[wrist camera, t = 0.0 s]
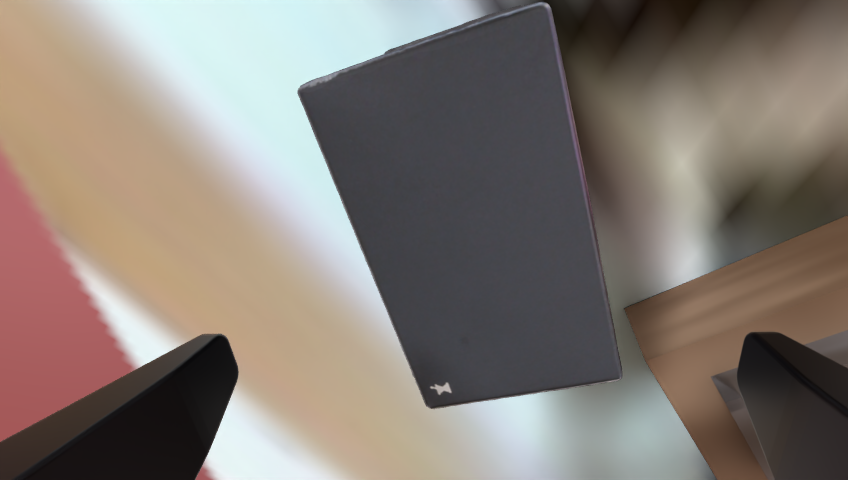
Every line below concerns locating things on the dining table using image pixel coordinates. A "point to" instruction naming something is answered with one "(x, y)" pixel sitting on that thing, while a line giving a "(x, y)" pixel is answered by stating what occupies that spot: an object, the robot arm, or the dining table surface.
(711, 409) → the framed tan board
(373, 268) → the small box
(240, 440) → the dining table surface
